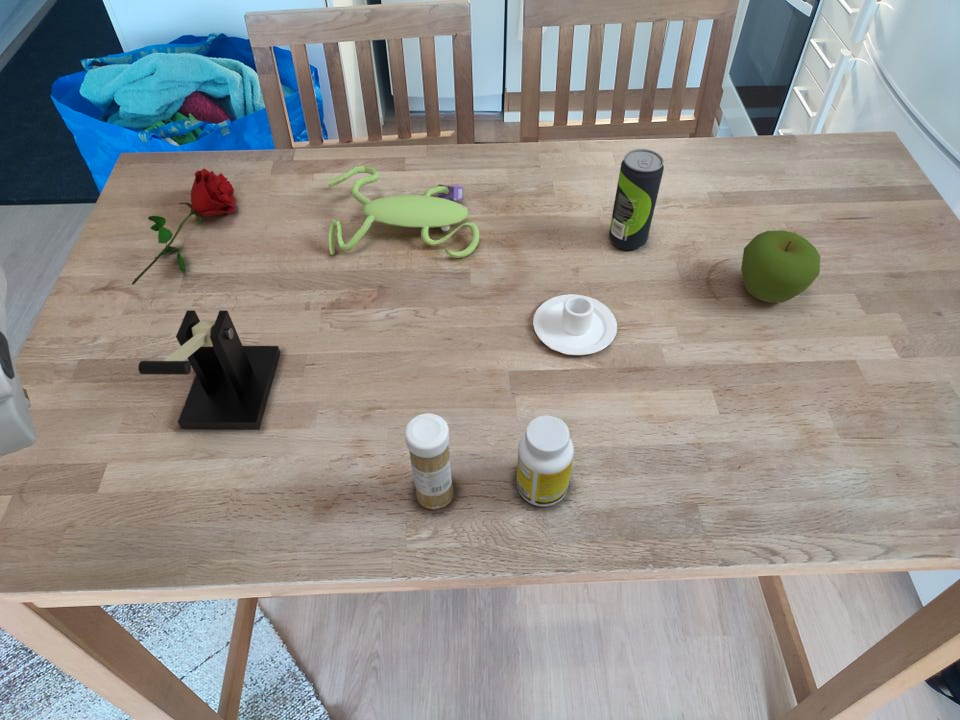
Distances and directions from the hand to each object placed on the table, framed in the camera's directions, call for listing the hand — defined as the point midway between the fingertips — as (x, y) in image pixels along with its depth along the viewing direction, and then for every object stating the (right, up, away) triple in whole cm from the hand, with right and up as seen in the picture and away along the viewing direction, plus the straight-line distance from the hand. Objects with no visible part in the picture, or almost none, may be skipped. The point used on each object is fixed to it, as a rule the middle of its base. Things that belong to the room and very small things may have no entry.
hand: (1, 349), depth 54 cm
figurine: (+26, +22, +57) cm, 66 cm away
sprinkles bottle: (+34, -17, +24) cm, 45 cm away
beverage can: (+63, +19, +54) cm, 85 cm away
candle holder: (+53, +4, +41) cm, 67 cm away
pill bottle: (+47, -16, +25) cm, 55 cm away
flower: (-8, +18, +54) cm, 58 cm away
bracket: (+6, -5, +35) cm, 35 cm away
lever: (+6, -1, +22) cm, 23 cm away
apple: (+83, +9, +46) cm, 95 cm away
